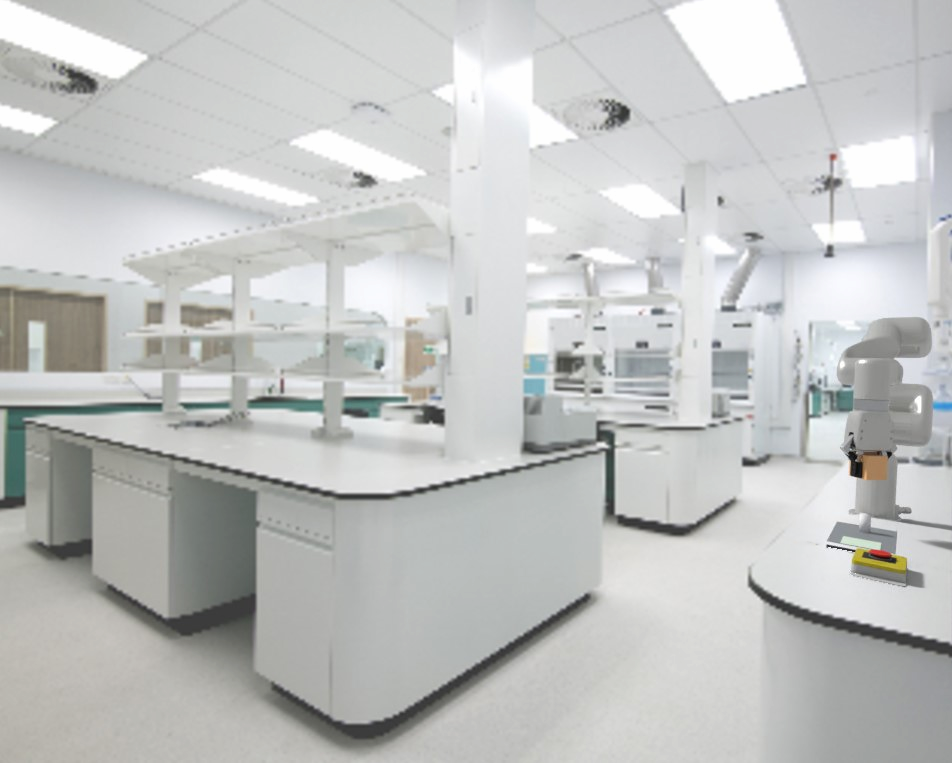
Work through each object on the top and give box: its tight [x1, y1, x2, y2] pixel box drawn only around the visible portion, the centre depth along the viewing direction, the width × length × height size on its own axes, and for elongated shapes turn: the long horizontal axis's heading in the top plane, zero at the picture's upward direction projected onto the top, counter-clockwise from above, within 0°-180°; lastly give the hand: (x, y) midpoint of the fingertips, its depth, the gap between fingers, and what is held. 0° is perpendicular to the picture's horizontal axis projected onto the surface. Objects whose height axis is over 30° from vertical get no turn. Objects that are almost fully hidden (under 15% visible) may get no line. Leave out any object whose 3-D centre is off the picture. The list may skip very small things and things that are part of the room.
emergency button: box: [848, 547, 909, 588], centre depth 115 cm, size 9×4×15 cm
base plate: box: [825, 513, 898, 555], centre depth 136 cm, size 24×13×6 cm, turn 141°
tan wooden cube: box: [848, 451, 888, 480], centre depth 140 cm, size 6×6×7 cm
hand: (867, 476), depth 140 cm, fingers closed on tan wooden cube, 5 cm apart
